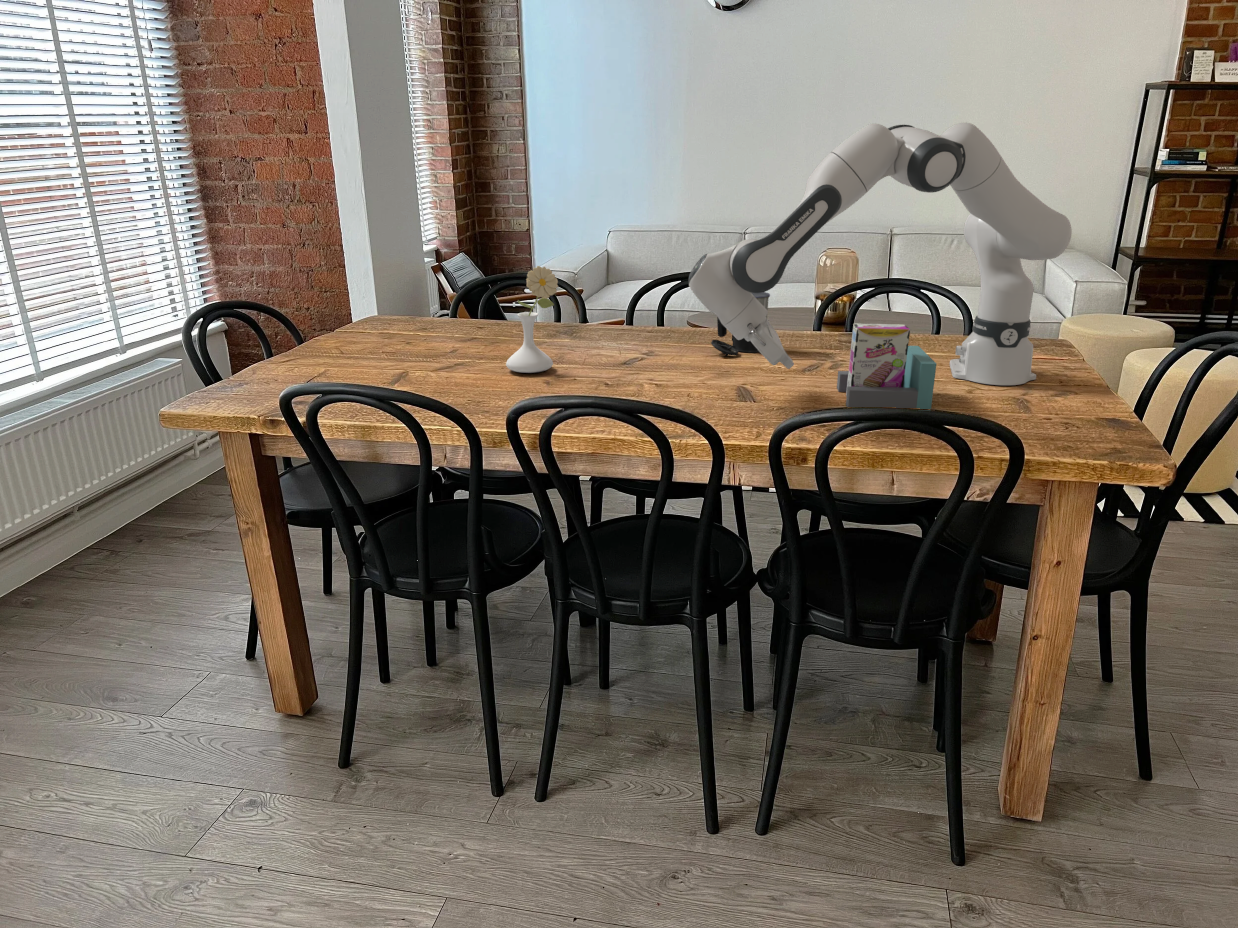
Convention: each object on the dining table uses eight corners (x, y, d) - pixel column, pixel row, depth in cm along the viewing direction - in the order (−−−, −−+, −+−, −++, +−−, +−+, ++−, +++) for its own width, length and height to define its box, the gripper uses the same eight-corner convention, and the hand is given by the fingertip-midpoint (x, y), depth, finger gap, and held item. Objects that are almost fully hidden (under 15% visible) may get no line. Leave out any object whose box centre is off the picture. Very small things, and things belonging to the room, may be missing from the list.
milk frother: (767, 346, 246) (770, 290, 241) (765, 360, 232) (768, 301, 227) (714, 344, 249) (716, 289, 244) (709, 357, 234) (711, 299, 229)
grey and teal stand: (836, 388, 207) (840, 344, 204) (913, 389, 206) (918, 345, 202) (848, 408, 192) (852, 362, 189) (930, 410, 191) (936, 363, 187)
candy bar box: (849, 403, 196) (856, 327, 190) (845, 397, 200) (851, 322, 195) (902, 404, 195) (911, 328, 189) (897, 397, 200) (905, 323, 194)
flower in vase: (507, 377, 216) (502, 270, 207) (505, 365, 227) (500, 263, 218) (562, 375, 218) (559, 269, 209) (557, 363, 229) (555, 262, 220)
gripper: (762, 319, 185) (807, 367, 187) (755, 301, 204) (796, 344, 206) (738, 341, 186) (784, 388, 189) (734, 320, 205) (775, 363, 208)
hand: (791, 365), depth 198 cm, fingers closed
